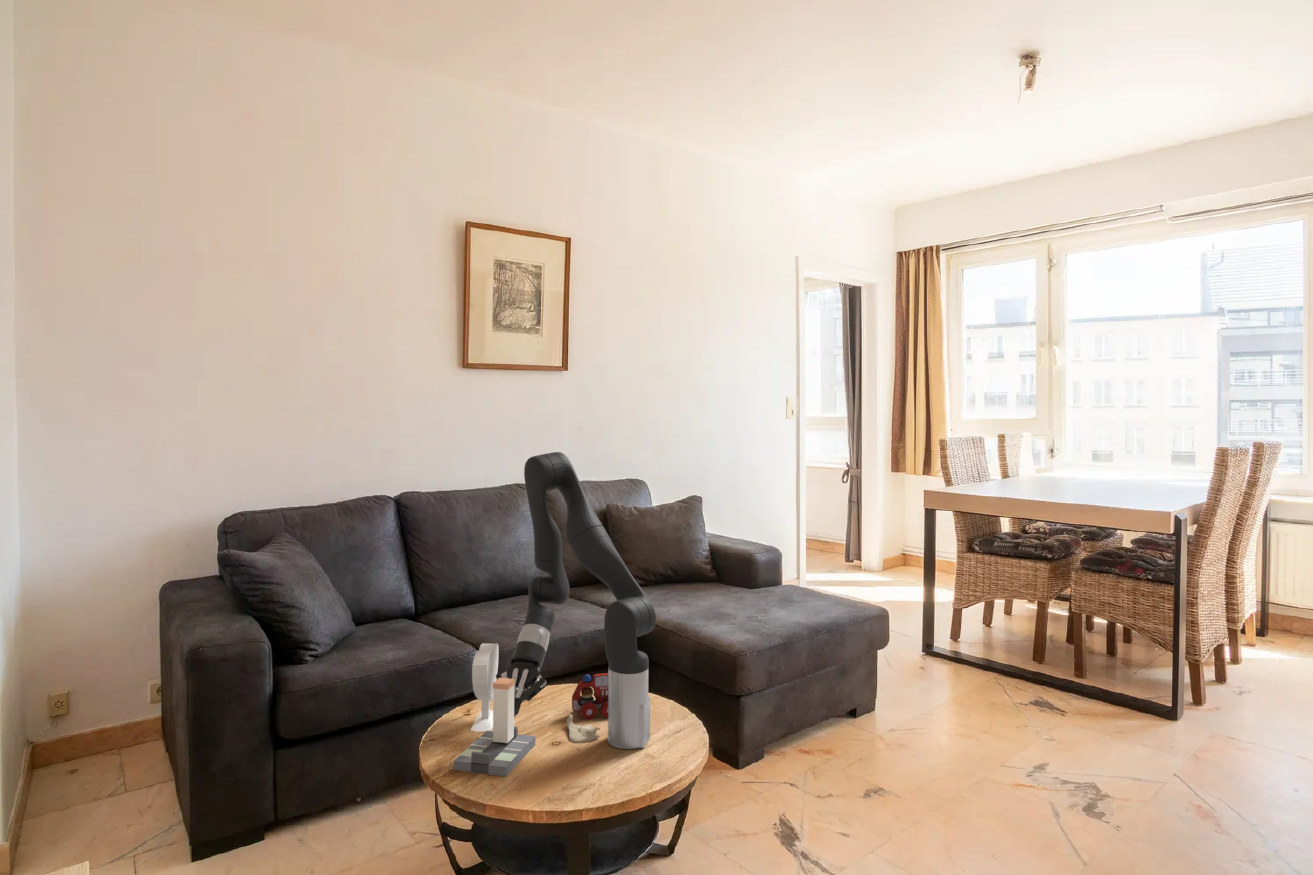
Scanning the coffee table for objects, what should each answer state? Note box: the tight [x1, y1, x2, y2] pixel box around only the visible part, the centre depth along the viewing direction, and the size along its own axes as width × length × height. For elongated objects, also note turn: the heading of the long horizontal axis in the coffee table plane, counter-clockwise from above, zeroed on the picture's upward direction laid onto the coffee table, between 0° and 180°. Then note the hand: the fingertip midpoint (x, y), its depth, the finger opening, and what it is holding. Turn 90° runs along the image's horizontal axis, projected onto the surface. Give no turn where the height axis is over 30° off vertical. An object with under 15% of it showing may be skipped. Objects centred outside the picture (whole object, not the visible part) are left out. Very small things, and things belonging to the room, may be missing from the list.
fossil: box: [566, 714, 601, 744], centre depth 183 cm, size 7×11×4 cm, turn 17°
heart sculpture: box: [470, 643, 500, 733], centre depth 189 cm, size 16×5×18 cm, turn 2°
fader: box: [492, 677, 515, 743], centre depth 173 cm, size 4×4×13 cm
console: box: [452, 726, 536, 777], centre depth 169 cm, size 12×16×4 cm
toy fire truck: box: [571, 672, 609, 720], centre depth 194 cm, size 7×12×10 cm, turn 104°
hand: (510, 715), depth 177 cm, fingers closed
